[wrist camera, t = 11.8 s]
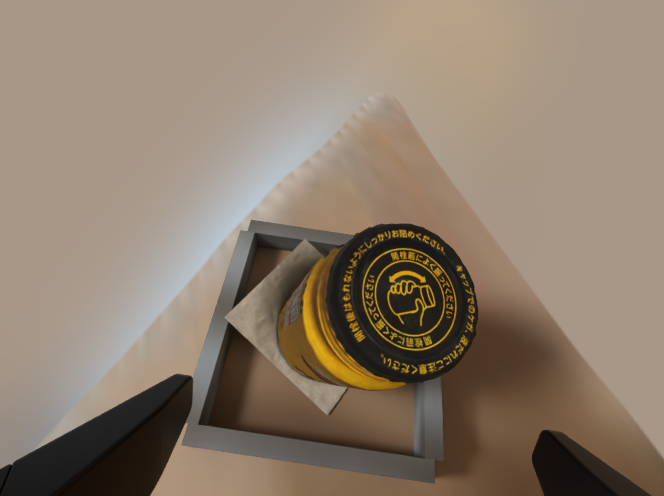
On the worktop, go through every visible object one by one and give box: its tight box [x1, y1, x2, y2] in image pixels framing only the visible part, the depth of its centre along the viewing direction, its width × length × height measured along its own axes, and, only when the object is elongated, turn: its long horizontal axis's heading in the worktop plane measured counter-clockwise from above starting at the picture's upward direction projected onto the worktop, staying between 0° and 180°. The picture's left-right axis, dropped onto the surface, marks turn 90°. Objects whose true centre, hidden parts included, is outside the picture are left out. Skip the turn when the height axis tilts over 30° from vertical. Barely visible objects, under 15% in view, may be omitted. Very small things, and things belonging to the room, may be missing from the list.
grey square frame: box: [182, 220, 444, 484], centre depth 21 cm, size 14×14×3 cm
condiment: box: [224, 224, 478, 415], centre depth 16 cm, size 7×8×12 cm
